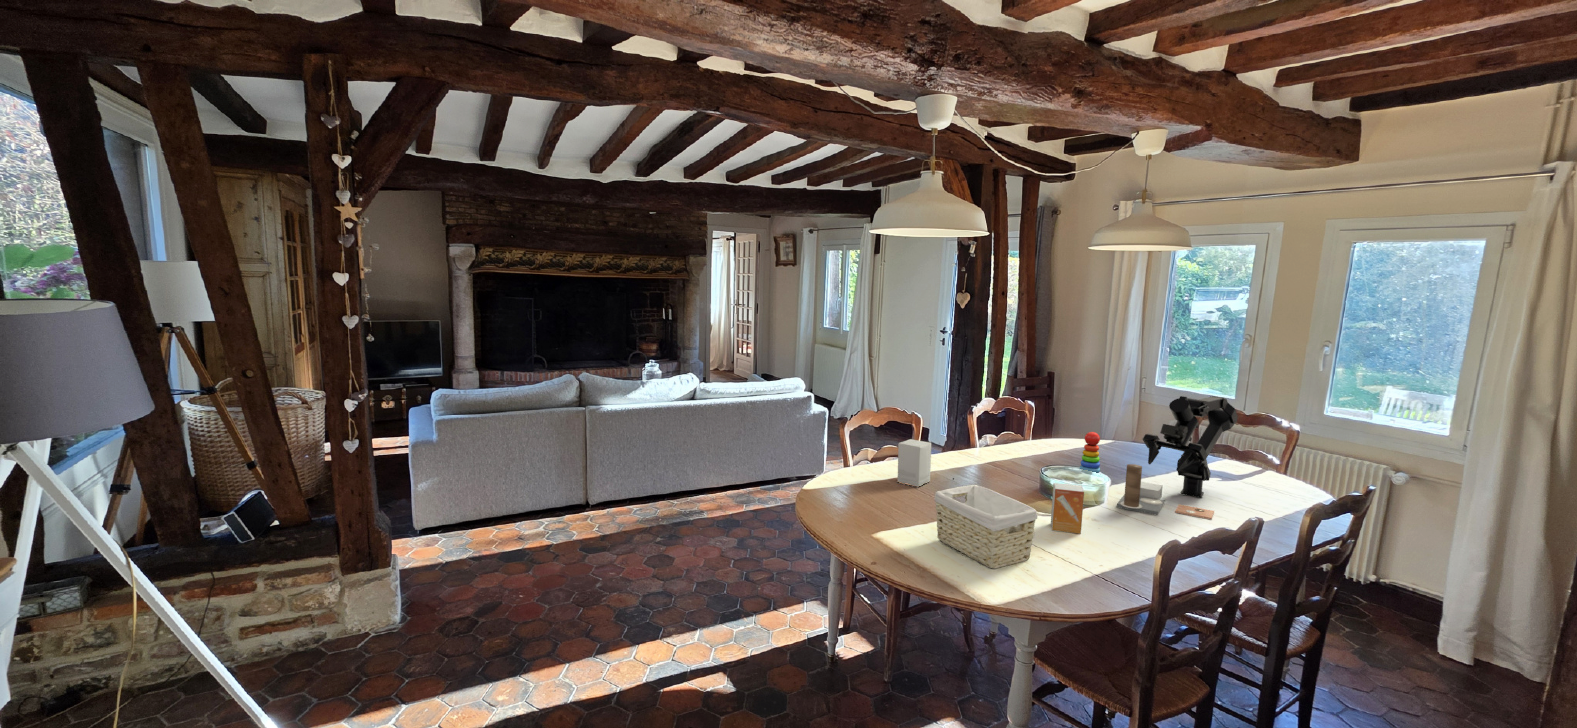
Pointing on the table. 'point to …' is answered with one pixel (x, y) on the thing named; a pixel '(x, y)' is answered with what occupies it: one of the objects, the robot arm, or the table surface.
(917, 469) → the supplement box
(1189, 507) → the tile
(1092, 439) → the stacking toy
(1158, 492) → the cover
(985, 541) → the storage basket
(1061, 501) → the small box
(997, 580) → the table surface
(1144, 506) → the slate board
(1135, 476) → the walnut pin
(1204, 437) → the robot arm
